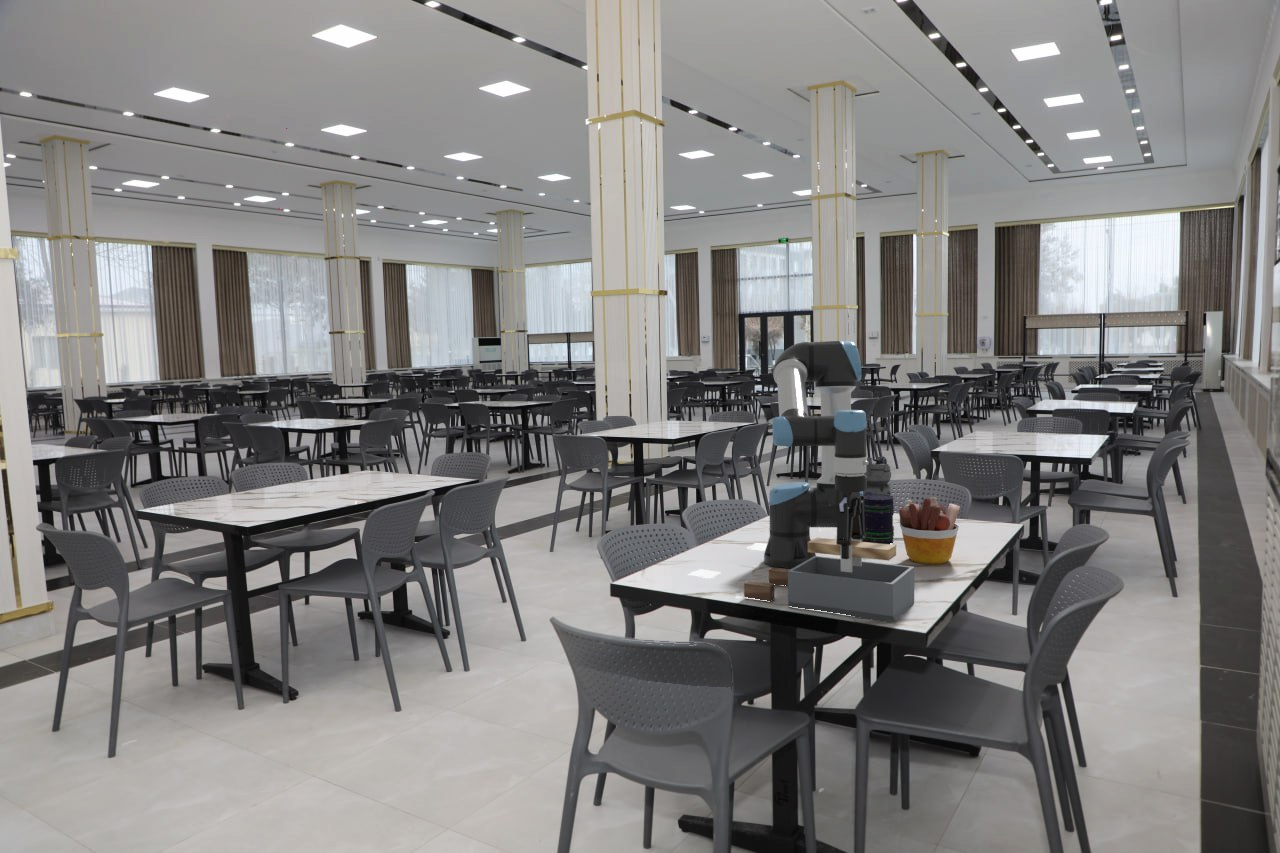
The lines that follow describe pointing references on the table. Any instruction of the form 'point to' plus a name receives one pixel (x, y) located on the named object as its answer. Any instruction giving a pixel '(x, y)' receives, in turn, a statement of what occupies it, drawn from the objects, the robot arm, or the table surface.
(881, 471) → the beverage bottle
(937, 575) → the table surface
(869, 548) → the shelf board
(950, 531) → the bucket of meat
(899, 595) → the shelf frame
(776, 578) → the wooden blocks
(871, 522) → the storage jar
